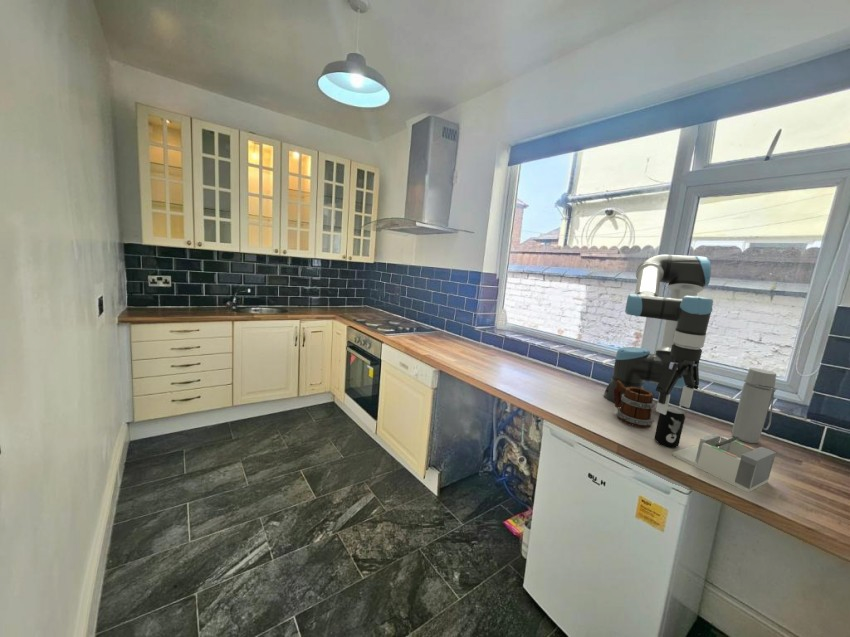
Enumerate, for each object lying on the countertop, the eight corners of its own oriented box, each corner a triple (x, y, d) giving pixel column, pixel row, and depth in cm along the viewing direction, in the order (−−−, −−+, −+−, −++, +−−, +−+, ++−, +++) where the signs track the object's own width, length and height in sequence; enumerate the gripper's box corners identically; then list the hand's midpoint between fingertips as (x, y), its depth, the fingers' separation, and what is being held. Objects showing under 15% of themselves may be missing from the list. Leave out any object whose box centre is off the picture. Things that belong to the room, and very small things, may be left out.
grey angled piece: (713, 453, 104) (718, 429, 103) (742, 466, 98) (749, 441, 97) (692, 461, 99) (698, 436, 97) (722, 475, 92) (729, 449, 91)
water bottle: (736, 441, 116) (754, 371, 112) (726, 431, 124) (742, 365, 119) (771, 448, 113) (790, 377, 109) (758, 438, 120) (776, 370, 116)
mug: (642, 431, 117) (642, 388, 117) (604, 419, 130) (604, 381, 130) (661, 426, 122) (662, 385, 122) (623, 416, 135) (623, 378, 135)
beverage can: (657, 445, 109) (664, 410, 107) (651, 436, 115) (658, 403, 113) (681, 451, 106) (689, 415, 104) (674, 441, 112) (681, 407, 110)
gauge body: (692, 448, 109) (699, 422, 107) (767, 482, 93) (776, 452, 92) (672, 455, 103) (678, 427, 102) (748, 492, 88) (756, 460, 86)
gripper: (694, 340, 114) (681, 399, 118) (651, 345, 102) (638, 410, 107) (721, 346, 107) (706, 408, 112) (678, 352, 96) (663, 421, 100)
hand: (672, 409), depth 109 cm, fingers open, 13 cm apart
